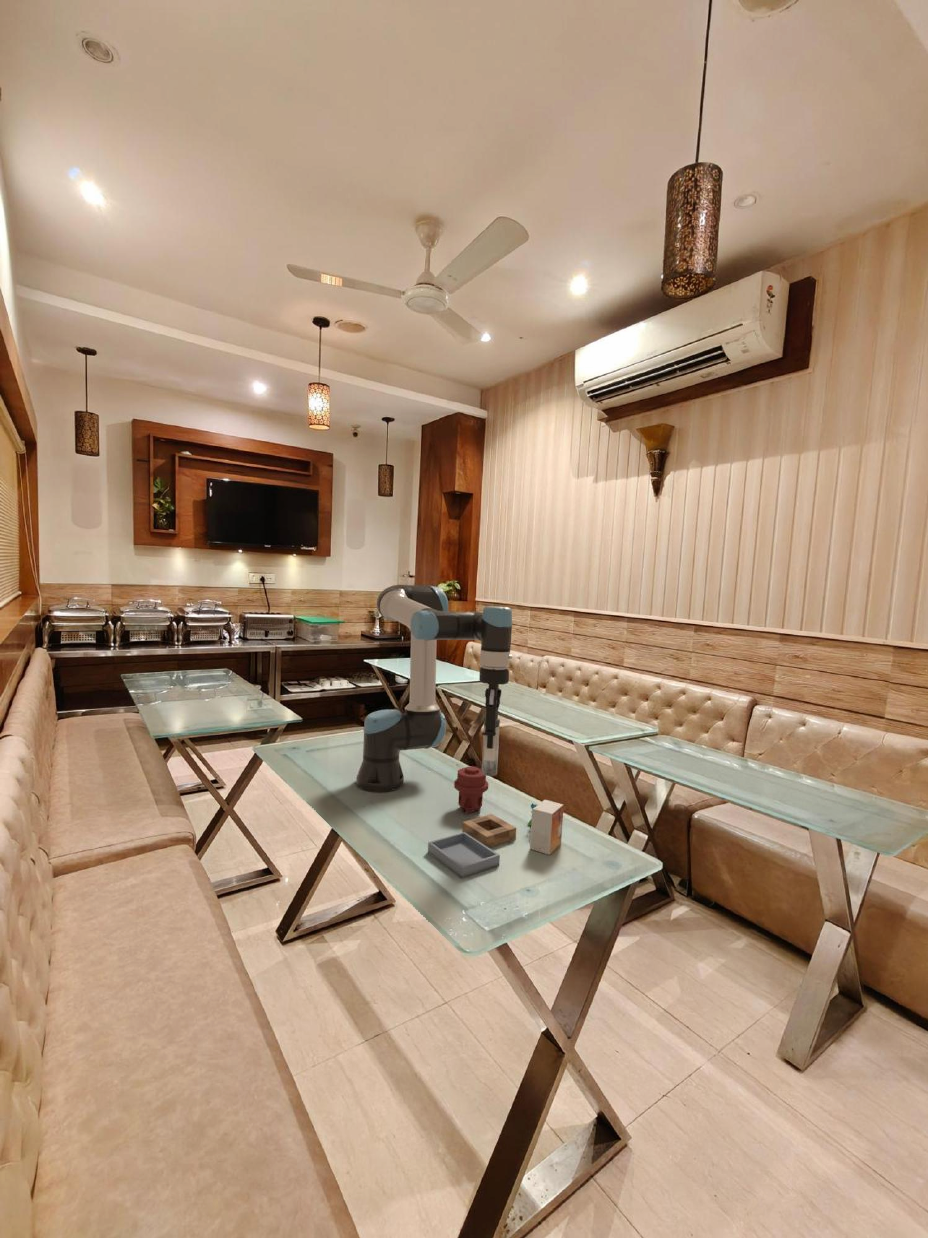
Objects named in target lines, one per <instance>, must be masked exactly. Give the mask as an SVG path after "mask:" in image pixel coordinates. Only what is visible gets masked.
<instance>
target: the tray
mask: <svg viewBox="0 0 928 1238" xmlns="http://www.w3.org/2000/svg"><path fill="white" fill-rule="evenodd" d="M427 844H428V845H427V853H428V854H430V856H432V857H433V858H435V859H436V860H437V861H438V862H440V863H441V864H443V865H444V866H445V867H447V869H449V870H450V871H452V872H453V873H454V874H456V875H457V876H458V877H459V878H461V879H464V878H467V877H470V876H473V875H475V874H479V873H481V872H484V871H487V870H490V869H493V868H496V867H498V866H500V861H501V860H500V859H501V857H500V854H499V853H498V852H496V851H495V850H493V849H491V847H490V848H488V847H487V846H485V845H484V844H482V843H481V842H479V841H478V840H476V839H474V838H473V837H471V836H470V835H468V834H467V833H465V832H458V833H456V834H452V835H448V836H445V837H441V838H437V839H435V840H432V841H428V843H427Z"/></svg>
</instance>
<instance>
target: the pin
mask: <svg viewBox="0 0 928 1238" xmlns="http://www.w3.org/2000/svg"><path fill="white" fill-rule="evenodd" d="M485 724H486V717H485V718H484V719H483V732H484V733H485ZM500 725H501V719H499V718H498V719H497V718H496V745H495V761H488V760H484V747H485V735H482V756H481V757H482V759H481V769H482V774H483V775H486V777H487V776H490V777H493V776H497V774H498V759H499V746H500V745H499V744H500V742H499V741H500V730H499V727H500V728H501V726H500Z"/></svg>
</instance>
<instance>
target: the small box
mask: <svg viewBox="0 0 928 1238" xmlns="http://www.w3.org/2000/svg"><path fill="white" fill-rule="evenodd" d="M536 805H537V806H536V807H534V808H533V809H532V808H531V811H532V813H531V819H532V820H531V819H530V820H531V825H530V838H529V849H530V850H533V851H536V852H539V853H542V854H545V855H551V854H552V853H553V852H554V851H555V850H556V849H558V847H559V846H560V845H562V834H563V821H564V820H563V819H564V809H565V808H564V806H565V805H564V804H562V803H559V802H555V801H552V800H548V799H543V800H542V801H541V802H540V803H539V804H536Z"/></svg>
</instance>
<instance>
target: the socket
mask: <svg viewBox="0 0 928 1238" xmlns="http://www.w3.org/2000/svg"><path fill="white" fill-rule="evenodd" d="M462 832H465V833H467V834H468V835H470V836H471V837H473V838H474V839H476V840H478V841H479V842H481V843H482V844H484V845H485V846H487V847H488V848H490V849H491V848H492V847H496V846H499V845H501V844H504V843H508V842H511V841H514V840H516V839H517V827H516V826H514V825H512V824H511V823H509V822H507V821H505V820H504V819H501V818H499V817H498V816H496V815H494V814H492V813H490V814H487V815H483V816H479V817H476V818H473V819H469V820H464V821H463V822H462ZM462 832H461V833H462Z"/></svg>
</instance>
